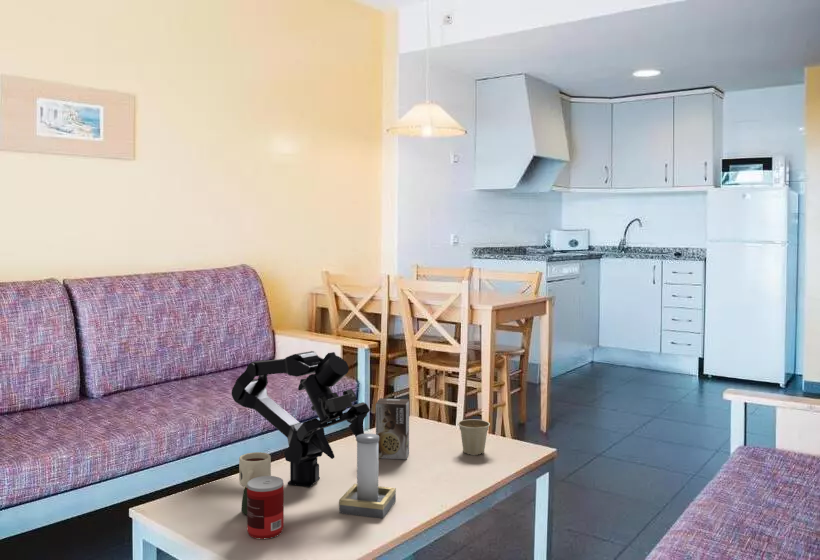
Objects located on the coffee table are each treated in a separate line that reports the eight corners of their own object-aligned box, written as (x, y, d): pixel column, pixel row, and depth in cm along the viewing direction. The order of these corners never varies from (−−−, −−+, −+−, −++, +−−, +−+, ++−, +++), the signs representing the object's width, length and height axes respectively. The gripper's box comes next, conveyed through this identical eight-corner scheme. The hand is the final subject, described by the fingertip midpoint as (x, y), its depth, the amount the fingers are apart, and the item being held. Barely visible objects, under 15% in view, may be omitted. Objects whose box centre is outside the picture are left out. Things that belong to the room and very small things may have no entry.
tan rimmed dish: (339, 513, 162) (339, 499, 162) (354, 496, 172) (354, 483, 172) (383, 518, 159) (383, 504, 159) (395, 501, 169) (395, 488, 169)
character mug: (246, 502, 167) (245, 449, 167) (275, 503, 167) (275, 449, 166) (233, 521, 157) (233, 464, 156) (265, 522, 156) (265, 465, 155)
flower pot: (452, 448, 211) (453, 420, 210) (481, 446, 213) (482, 418, 213) (464, 458, 202) (465, 428, 201) (494, 455, 204) (495, 426, 204)
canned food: (286, 524, 156) (286, 475, 155) (280, 539, 148) (280, 488, 147) (251, 524, 155) (251, 475, 155) (243, 540, 147) (243, 488, 147)
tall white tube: (357, 503, 162) (357, 440, 161) (355, 494, 168) (355, 433, 167) (380, 502, 163) (380, 439, 162) (377, 493, 169) (378, 433, 168)
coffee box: (409, 453, 206) (410, 398, 205) (406, 460, 200) (406, 404, 198) (379, 451, 207) (379, 397, 206) (374, 458, 201) (375, 402, 200)
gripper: (300, 391, 164) (329, 450, 159) (364, 371, 176) (393, 426, 170) (284, 412, 172) (311, 469, 166) (346, 392, 184) (374, 445, 178)
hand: (349, 452), depth 170 cm, fingers open, 9 cm apart
